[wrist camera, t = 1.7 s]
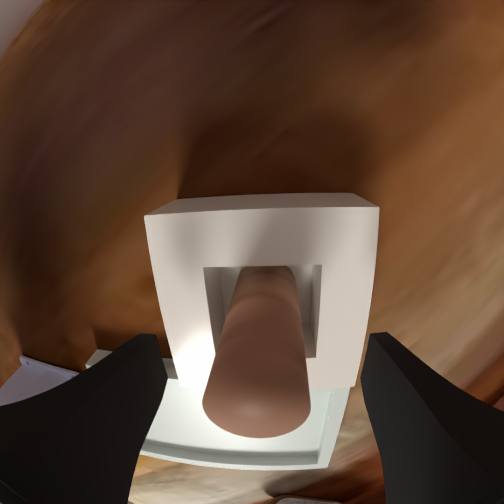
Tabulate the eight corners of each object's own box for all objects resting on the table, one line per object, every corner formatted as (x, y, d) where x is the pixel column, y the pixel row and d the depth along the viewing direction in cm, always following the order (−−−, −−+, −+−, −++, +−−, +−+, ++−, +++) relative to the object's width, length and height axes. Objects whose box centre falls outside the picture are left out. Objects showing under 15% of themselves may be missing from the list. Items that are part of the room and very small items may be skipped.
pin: (239, 311, 15) (210, 435, 8) (234, 258, 14) (193, 371, 7) (295, 310, 15) (306, 437, 7) (296, 257, 14) (315, 371, 6)
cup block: (197, 343, 17) (180, 386, 14) (176, 199, 14) (144, 215, 11) (341, 341, 16) (354, 386, 13) (352, 192, 14) (379, 207, 10)
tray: (141, 438, 22) (134, 452, 21) (97, 349, 19) (84, 364, 17) (325, 450, 21) (327, 467, 19) (346, 359, 17) (352, 379, 15)
